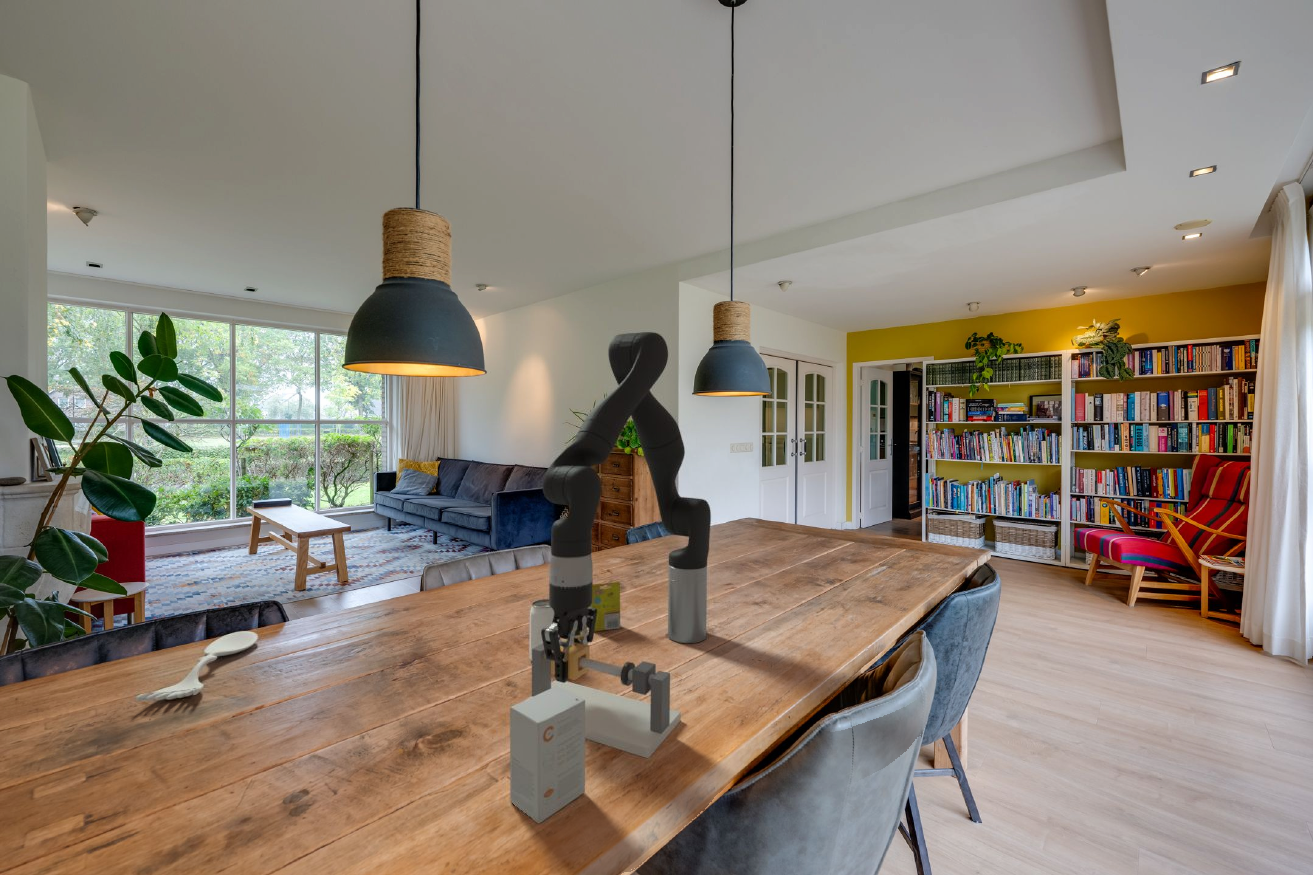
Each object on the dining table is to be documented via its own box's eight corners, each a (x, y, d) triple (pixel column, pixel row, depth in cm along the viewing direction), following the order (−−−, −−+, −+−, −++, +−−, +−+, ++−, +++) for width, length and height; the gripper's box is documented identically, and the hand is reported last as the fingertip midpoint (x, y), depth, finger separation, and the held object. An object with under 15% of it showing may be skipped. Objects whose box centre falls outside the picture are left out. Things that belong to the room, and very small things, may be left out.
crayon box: (617, 624, 138) (618, 578, 138) (620, 628, 135) (621, 582, 135) (588, 627, 136) (589, 581, 135) (591, 632, 133) (591, 584, 133)
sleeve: (566, 664, 99) (566, 640, 99) (589, 669, 97) (589, 645, 97) (551, 673, 95) (551, 648, 95) (574, 680, 93) (574, 654, 93)
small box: (556, 773, 79) (556, 684, 79) (586, 793, 75) (586, 698, 74) (508, 802, 73) (508, 705, 72) (538, 825, 68) (538, 723, 68)
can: (553, 666, 114) (553, 609, 113) (524, 663, 115) (524, 606, 115) (564, 653, 120) (565, 599, 120) (537, 651, 121) (537, 597, 121)
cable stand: (557, 686, 105) (557, 630, 105) (680, 720, 93) (681, 657, 93) (514, 715, 94) (515, 653, 94) (648, 758, 83) (649, 687, 82)
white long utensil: (132, 715, 93) (132, 696, 93) (218, 644, 124) (218, 629, 124) (196, 708, 96) (196, 688, 96) (265, 639, 127) (265, 624, 126)
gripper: (564, 592, 88) (563, 698, 88) (610, 572, 101) (609, 664, 101) (527, 586, 91) (526, 687, 92) (576, 566, 104) (576, 655, 104)
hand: (570, 674), depth 96 cm, fingers closed on sleeve, 4 cm apart
